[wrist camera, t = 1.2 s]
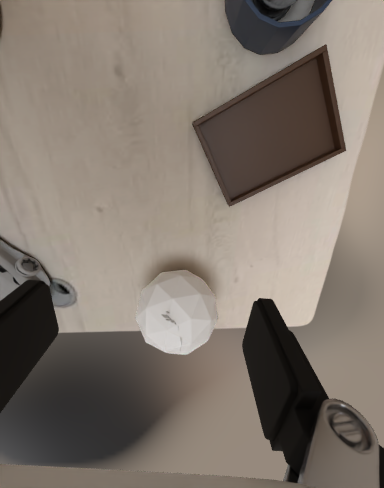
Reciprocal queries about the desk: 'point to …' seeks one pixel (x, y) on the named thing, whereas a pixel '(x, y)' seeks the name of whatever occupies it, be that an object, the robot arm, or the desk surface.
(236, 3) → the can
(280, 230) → the desk surface
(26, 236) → the desk surface
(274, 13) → the salt shaker
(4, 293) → the car model
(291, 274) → the desk surface
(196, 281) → the geodesic sphere
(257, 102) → the tray
